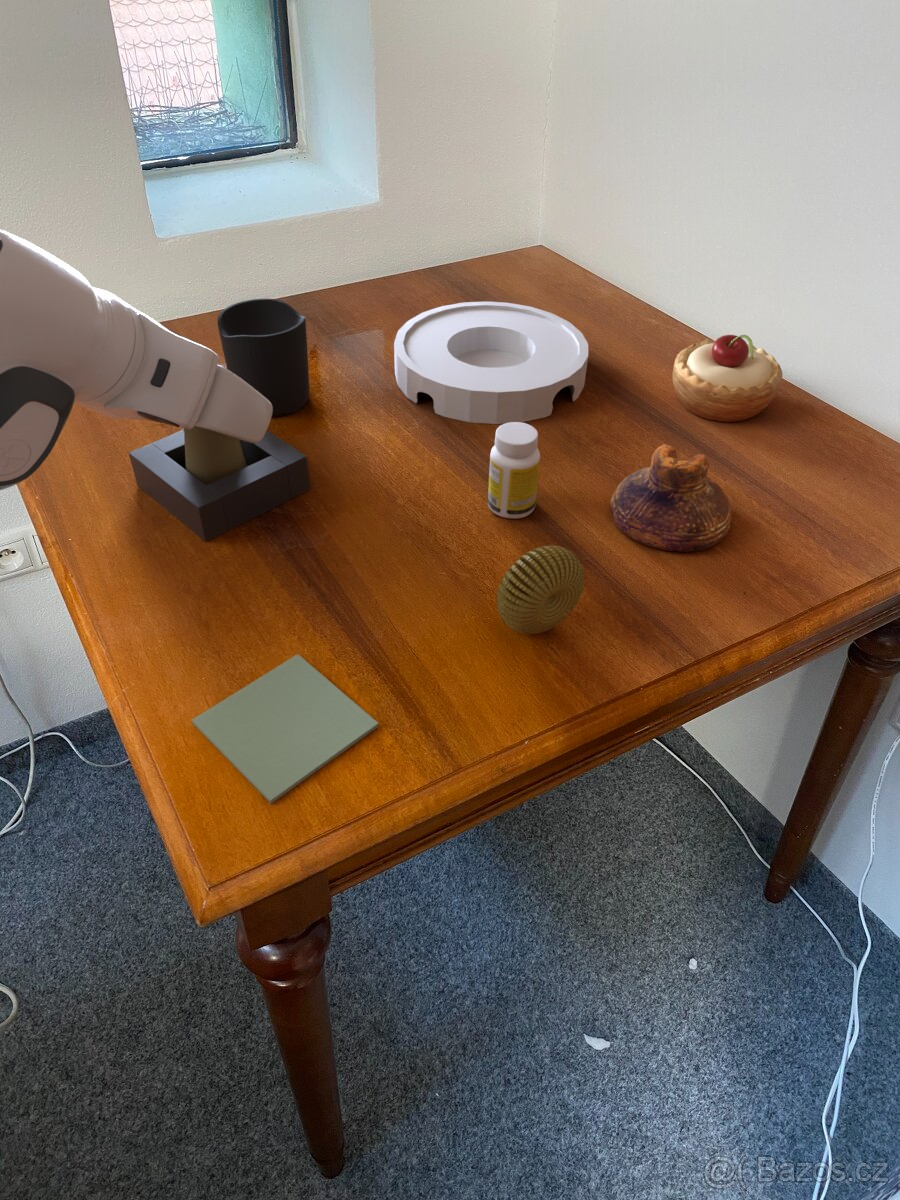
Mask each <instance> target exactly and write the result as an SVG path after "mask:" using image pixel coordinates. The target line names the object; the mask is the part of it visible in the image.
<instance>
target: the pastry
mask: <svg viewBox="0 0 900 1200" xmlns="http://www.w3.org/2000/svg"><path fill="white" fill-rule="evenodd" d="M745 339H746V340H745ZM671 377H672V378H671V379H672V385H673V389H674V393H675V395H676V396H677V398H678V399H677V400H679V402H680V404H681V405H682V406H683V407H684V408H685V410H688V411H689V412H691V413H692V414H694V415H696V416H698V417H701V418H704V419H706V420H711V421H715V422H720V423H721V422H725V423H726V422H727V423H732V422H733V423H734V422H741V421H747V420H749V419H752V418H753V417H755V416H756V417H757V415H758V414H760V413H761V412H763V410H765V409H766V408H767V407H768V406H769V405H770V403H771V402H772V401H773V400H774V398H775V397H776V395H777V393H778V391H779V388H780V386H781V383H782V380H783V370H782V367H781V365H780V364H779V363H778V362H777V360H776V358H775V357H774V356H773V355H772V354H771V353H769V354H768V353H767V351H766V350H765V349H764V348H761V347H759V348H757V347H756V346H754V345H753V340H752V338H751V337H749V336H748V335H746V334H740V335H734V334H725V335H722V336H719V337H718V338H717V339H716V340H715V341H711V339H709V338H706V339H704V340H703V341H702V342H700V343H699V342H694V343H693V344H691V345H689V346H687V347H685V348H684V349H683V348H682V350H680V352H679V353H677V355H676V356H675V360H674V363H673V369H672V376H671Z"/></svg>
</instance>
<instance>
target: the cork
mask: <svg viewBox="0 0 900 1200" xmlns="http://www.w3.org/2000/svg"><path fill="white" fill-rule="evenodd" d="M183 430H184V440H185V460H186V471H188V472H189V473H190V474H192V475H193V476H194V477H196V478H197V479H198V480H200V481H201V482H202V483H204V484H205V485H206V486H207V485H209V484H211V483H213V482H215V481H218V480H220V479H222V478H224V477H226V476H228V475H230V474H233V473H235V472H237V471H239V470H241V469H243V468H246V467H247V464H246V461H245V458H244V455H243V451H242V448H241V445H240V442H239V439H237V438H233V437H230V436H227V435H224V434H221V433H218V432H214V431H211V430H208V429H204V428H201V427H197V426H194V427H193V428H192V429H185V428H183Z"/></svg>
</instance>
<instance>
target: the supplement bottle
mask: <svg viewBox="0 0 900 1200" xmlns="http://www.w3.org/2000/svg"><path fill="white" fill-rule="evenodd" d="M538 442H539V432H538V431H537V429H536V428H535V427H534V426H533V425H531V424H528V423H527V422H510V423H505V424H500V425H498V427H497V428H496V430H495V437H494V445H493V446H492V448H491V450H490V454H489V471H488V473H489V474H488V490H487V506H488V508H489V510H490V511H491V512H492V513H493V514H495V515H496V516H499V517H501V518H505V519H512V520H513V519H514V520H515V519H522V518H525V517H527V516H529V515H531V514H532V513H533V512H534V510H535V508H536V505H537V496H538V494H537V493H538V484H539V476H540V475H539V474H540V462H541V452H540V450H539V448H538V445H539V444H538Z"/></svg>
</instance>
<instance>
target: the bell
mask: <svg viewBox="0 0 900 1200" xmlns="http://www.w3.org/2000/svg"><path fill="white" fill-rule="evenodd" d="M677 459H678V455H677V450H676V449H675V447H673V446H672V445H670V444H668V443H665V444H662V445H660V446H658V447H656V449H655V450H654V452H653V454H652V456H651V461H650V466H646V467H643V468H641V469H637V470H636V471H634V472H632V473H631V474H629V475H627V476H626V477H625V478H624V479H623V480H622V481H620V483H619V484H618V485H617V487H616V488H615V491H614V492H613V494H612V496H611V499H610V501H609V507H610V509H611V513H612V517H613V523H614V524H615V526H616V527H617V528H618V530H620V531H621V532H622V533H623V534H624V535H626V536H627V537H629V538H630V539H631V540H633V541H635V542H637V543H639V544H642V545H644V546H646V547H651V548H654V549H658V550H664V551H670V552H677V553H678V552H682V553H683V552H684V553H691V552H699V551H704V550H706V549H709V548H712V547H713V546H715V545H717V544H718V543H720V542H721V541H722V540H723V539H724V537H726V536H727V534H728V533H729V532H730V531H729V530H730V528H731V523H732V518H733V516H732V508H731V505H730V502H729V498H728V497H727V495H726V494H725V492H724V490H723V489H722V487H721V486H720V485H719V484H718V483H717V482H716V481H713V480H712V479H711V478H710V477H708V471H709V468H710V461H709V459H708V457H707V456H706V455H704V454H703V453H702V454H701V453H697V454H695V455H694V456H693V457H691V458H690V459H685V460H677Z"/></svg>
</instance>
